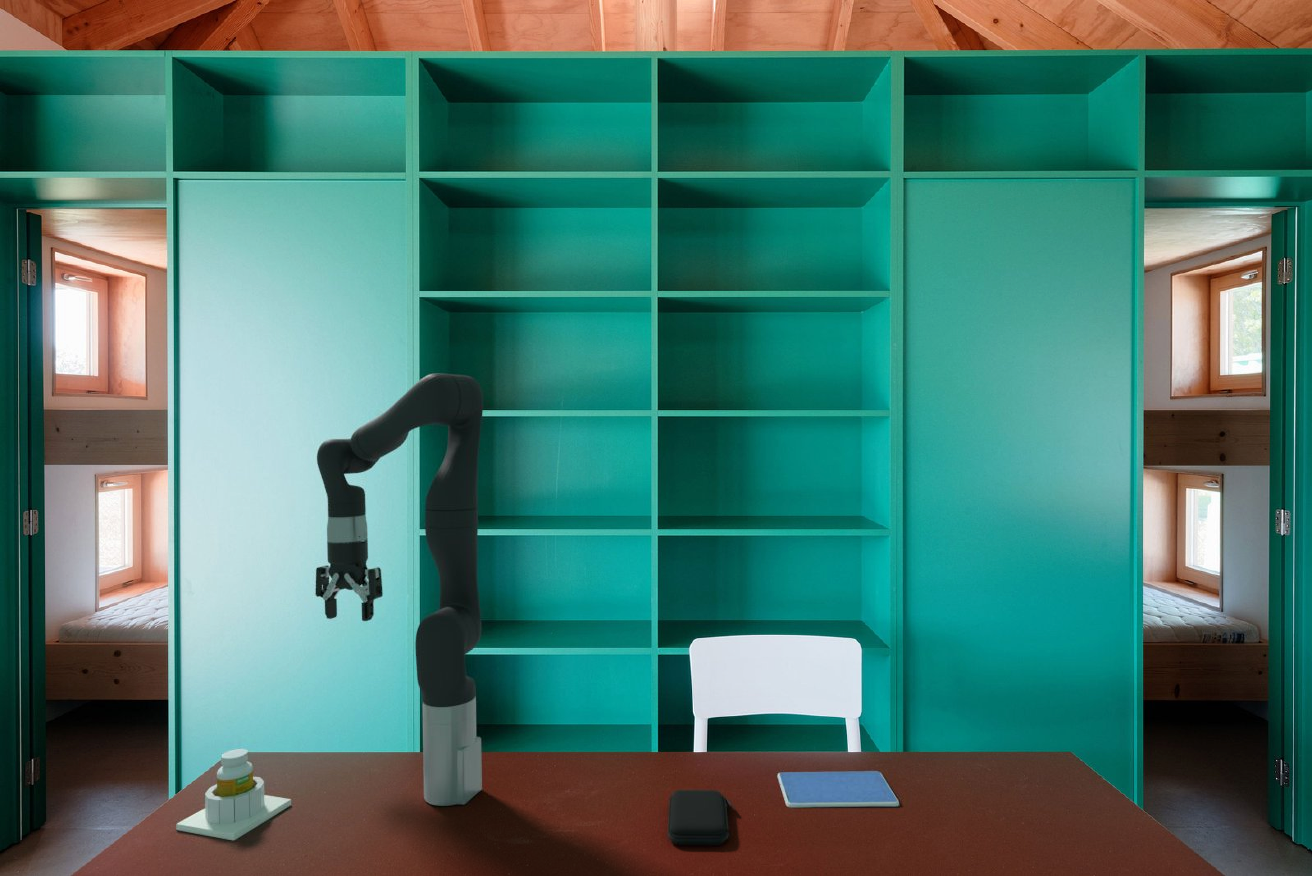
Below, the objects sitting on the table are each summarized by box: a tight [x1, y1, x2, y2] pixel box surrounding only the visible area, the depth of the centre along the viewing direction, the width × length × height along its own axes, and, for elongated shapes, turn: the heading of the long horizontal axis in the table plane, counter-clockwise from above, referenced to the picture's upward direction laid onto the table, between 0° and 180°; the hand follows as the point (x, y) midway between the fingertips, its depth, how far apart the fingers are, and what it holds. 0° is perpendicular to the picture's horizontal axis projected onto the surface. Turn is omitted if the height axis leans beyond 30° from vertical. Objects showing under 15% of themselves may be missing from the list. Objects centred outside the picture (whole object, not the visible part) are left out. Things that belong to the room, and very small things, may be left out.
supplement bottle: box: [216, 748, 254, 797], centre depth 128 cm, size 5×5×10 cm
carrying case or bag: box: [667, 789, 733, 846], centre depth 123 cm, size 11×3×15 cm
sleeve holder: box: [175, 775, 292, 842], centre depth 127 cm, size 12×12×5 cm
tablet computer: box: [777, 770, 900, 809], centre depth 134 cm, size 19×13×1 cm, turn 89°
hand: (349, 619), depth 150 cm, fingers open, 8 cm apart
